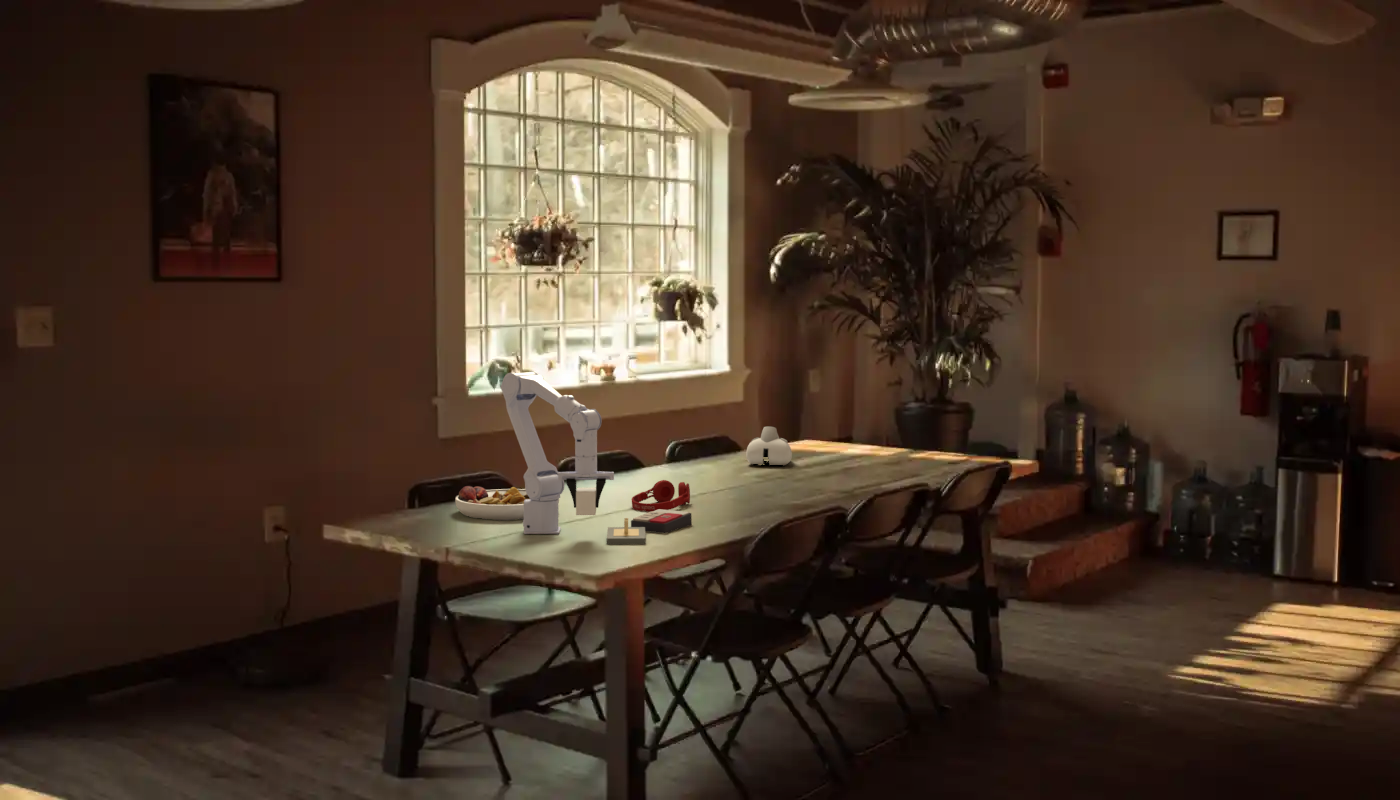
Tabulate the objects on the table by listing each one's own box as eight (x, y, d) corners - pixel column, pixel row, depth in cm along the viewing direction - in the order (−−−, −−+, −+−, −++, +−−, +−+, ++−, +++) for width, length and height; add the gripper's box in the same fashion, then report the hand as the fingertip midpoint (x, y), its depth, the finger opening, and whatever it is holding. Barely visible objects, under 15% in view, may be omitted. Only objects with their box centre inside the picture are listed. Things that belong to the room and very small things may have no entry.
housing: (576, 515, 355) (576, 492, 354) (577, 509, 362) (577, 487, 362) (595, 515, 355) (595, 492, 354) (596, 509, 363) (596, 487, 362)
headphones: (661, 498, 423) (623, 516, 407) (659, 476, 422) (621, 494, 406) (700, 502, 415) (663, 521, 399) (699, 480, 414) (661, 498, 397)
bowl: (566, 505, 413) (566, 480, 412) (549, 523, 383) (549, 495, 382) (468, 504, 415) (468, 478, 414) (444, 521, 385) (444, 494, 384)
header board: (606, 544, 352) (606, 525, 351) (607, 532, 367) (607, 514, 367) (645, 544, 352) (645, 524, 352) (645, 532, 368) (645, 514, 367)
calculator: (630, 517, 372) (658, 507, 385) (630, 533, 372) (658, 522, 385) (664, 521, 367) (691, 510, 380) (665, 537, 367) (692, 525, 380)
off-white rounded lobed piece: (814, 465, 503) (814, 426, 502) (764, 470, 490) (764, 429, 489) (777, 458, 521) (778, 420, 520) (728, 463, 508) (729, 424, 507)
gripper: (557, 457, 353) (557, 509, 354) (613, 457, 354) (613, 509, 355) (559, 454, 360) (559, 505, 361) (614, 454, 361) (614, 505, 362)
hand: (586, 507), depth 359 cm, fingers closed on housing, 5 cm apart
